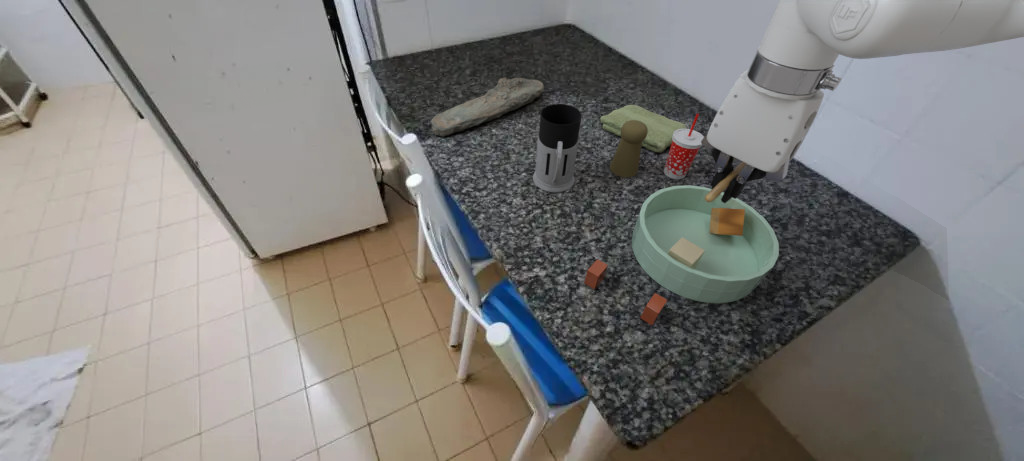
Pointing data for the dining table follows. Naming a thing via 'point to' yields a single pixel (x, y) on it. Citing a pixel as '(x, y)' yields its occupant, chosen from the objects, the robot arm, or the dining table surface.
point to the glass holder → (557, 147)
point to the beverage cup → (682, 151)
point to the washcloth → (656, 124)
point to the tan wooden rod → (723, 183)
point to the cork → (629, 149)
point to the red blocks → (652, 308)
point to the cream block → (686, 253)
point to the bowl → (702, 245)
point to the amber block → (727, 221)
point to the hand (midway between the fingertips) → (722, 194)
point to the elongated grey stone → (487, 105)
